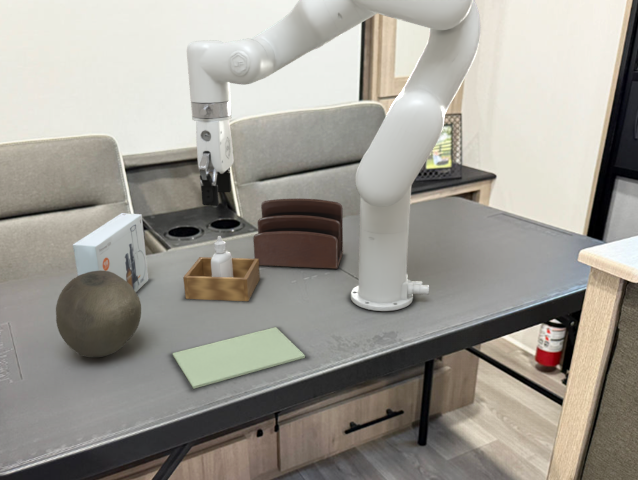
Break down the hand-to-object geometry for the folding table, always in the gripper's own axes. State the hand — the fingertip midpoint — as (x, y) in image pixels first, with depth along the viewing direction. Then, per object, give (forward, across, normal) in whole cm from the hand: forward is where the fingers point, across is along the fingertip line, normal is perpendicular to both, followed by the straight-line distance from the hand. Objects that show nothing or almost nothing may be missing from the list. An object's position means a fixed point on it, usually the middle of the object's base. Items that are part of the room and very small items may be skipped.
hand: (217, 198), depth 123 cm
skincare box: (+21, -7, +21) cm, 30 cm away
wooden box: (+20, 0, 0) cm, 20 cm away
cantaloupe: (+21, -29, +14) cm, 38 cm away
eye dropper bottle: (+20, 0, 0) cm, 21 cm away
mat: (+20, -28, -10) cm, 36 cm away
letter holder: (+20, +18, -14) cm, 31 cm away
